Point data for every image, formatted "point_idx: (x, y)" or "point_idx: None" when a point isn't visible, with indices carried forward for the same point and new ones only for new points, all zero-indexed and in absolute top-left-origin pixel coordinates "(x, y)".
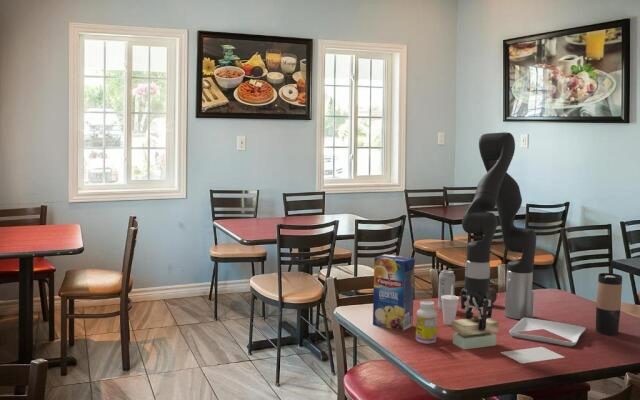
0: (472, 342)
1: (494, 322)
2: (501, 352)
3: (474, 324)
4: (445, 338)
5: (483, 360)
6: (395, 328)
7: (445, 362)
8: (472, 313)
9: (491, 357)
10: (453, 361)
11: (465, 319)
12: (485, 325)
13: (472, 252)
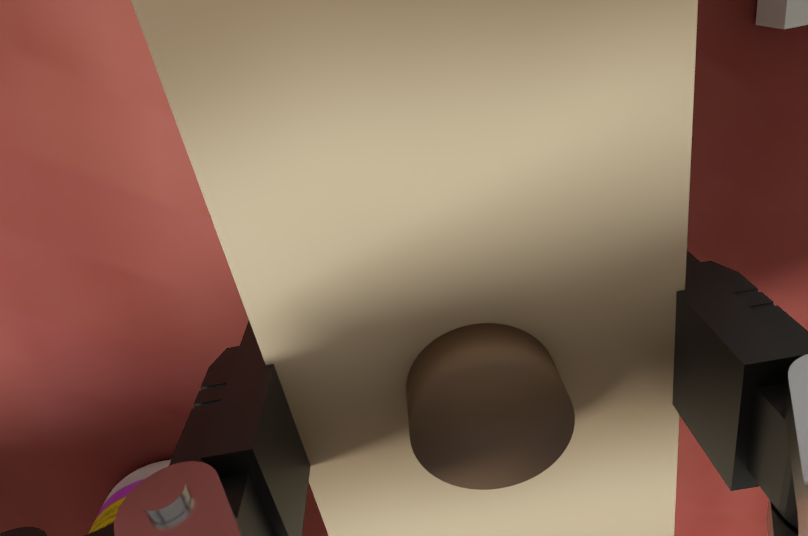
0: None
1: (688, 16)
2: (798, 15)
3: (652, 459)
4: (114, 356)
5: (779, 253)
6: None
7: (690, 517)
8: (254, 443)
9: (745, 141)
10: (695, 469)
11: (343, 493)
12: (763, 302)
13: None
